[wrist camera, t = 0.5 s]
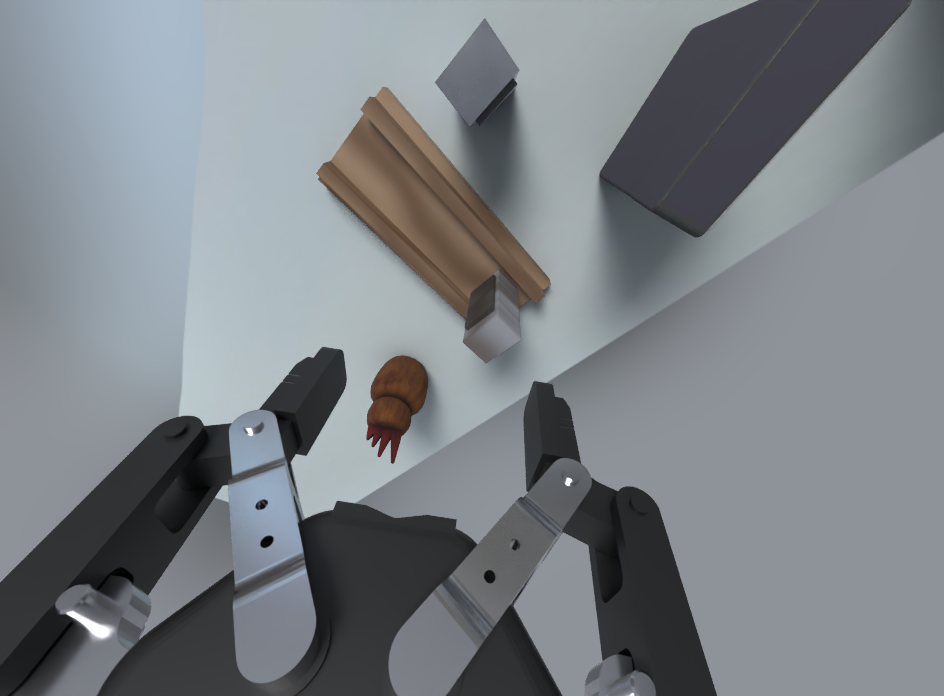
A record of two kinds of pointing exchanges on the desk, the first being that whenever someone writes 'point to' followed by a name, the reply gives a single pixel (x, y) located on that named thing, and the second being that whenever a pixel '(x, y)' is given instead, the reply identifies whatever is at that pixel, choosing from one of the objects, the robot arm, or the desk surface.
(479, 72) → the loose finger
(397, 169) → the rail
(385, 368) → the wooden figurine
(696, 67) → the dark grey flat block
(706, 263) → the desk surface
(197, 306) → the desk surface
